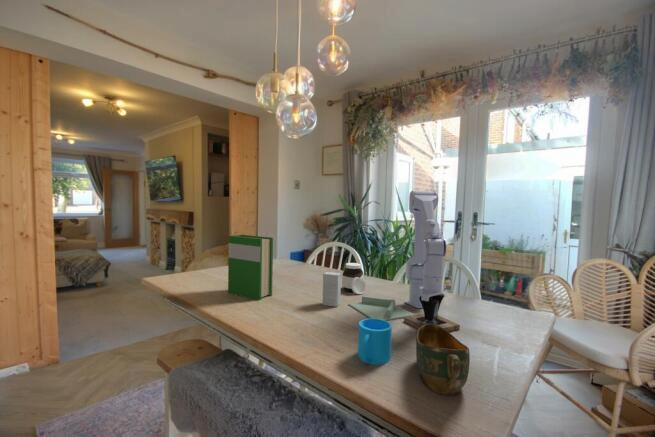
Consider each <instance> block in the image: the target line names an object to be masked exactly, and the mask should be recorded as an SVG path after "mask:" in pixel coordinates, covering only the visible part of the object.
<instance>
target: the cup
mask: <svg viewBox="0 0 655 437" xmlns="http://www.w3.org/2000/svg"><path fill="white" fill-rule="evenodd" d="M415 335H416V337H415V339H416V340H415V342H416V343H415V344H416V345H415V356H416V363H417V364H416V365H417V368H418V372H419V377H420V378H421V379H420V380H421V381H422V383H423V384H424V385H425V386H426V387H427V388H428V389H430V390H431V391H434V392H435V393H438V394H439V395H442V396H443V395H444V396H455V395H458V394H460V392H461V389H462V388H463V387H464V386H465V384H466V382H467V380H468V377H469V372H470V361H471V360H470V359H471V356H470V348H469V347H468V346H467V345H465V344H464V343H462V342H461V341H460V340H458V339H457V338H456V337H455V336H454V335H453V334H452V333H451V332H448V331H447V330H445V329H444V328H442V327H440V326H437V325H434V324H424V325H422V326H421V327H420V328H419V329H417V331H416V334H415Z"/></svg>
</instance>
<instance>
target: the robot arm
mask: <svg viewBox="0 0 655 437" xmlns="http://www.w3.org/2000/svg"><path fill="white" fill-rule="evenodd" d="M408 201H409V202H408V209H409V213H411V214H412V215H413V217H414V240H413V241H414V242H413V243H414V245H413V254H414V255H413V256H412V257H410V258H409V259H408V260H407V261H406V267H405V276H406V280H407V281H409V294H408V297H409V298H408V300H404V301H403V302H404V303H405V304H408V305H410V306H411V307H414V308H416V309H421V308H422V311H423V314H424V316H425V319H426V320H429V321H432V320H433V317H434V311H435V308H436V305H437V303H438V312H439V310H440V307H441V304H442V301H443V300H444V298H445V294H443V275H444V274H443V270H444V257H445V256H446V255H447V242H446V239H445V238H444V236H442V234H441V228H440V224H439V222H438V221H436V220H435V211H436V208H437V206H438V203H439V194H438V192H437V191H436V190H433V191H431V190H429V191H428V190H425V191H424V190H417V191H416V190H411V191H410V192H409V197H408ZM434 299H435V300H434ZM438 301H439V302H438Z"/></svg>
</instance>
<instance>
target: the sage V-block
mask: <svg viewBox="0 0 655 437" xmlns="http://www.w3.org/2000/svg"><path fill="white" fill-rule="evenodd" d="M348 306H349V307H352V308H353V309H354V310H356V311H358V312H360V313H361V314H363V315H364V316H366V317H367V318H368V319H371V318H373V319H381V320H385V321H387V322H389V321H393V320H394V321H395V320H399V319H404V317H406V316H412V315H416V314H415V313H413V312H411V311H409V310H407V309H405V308H403V307H401V306H398V305H397V304H396V300H395V299H393V298H385V297H378V296H368V295H367V296H366V295H362V296H361V301H355V302H348Z"/></svg>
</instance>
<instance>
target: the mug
mask: <svg viewBox="0 0 655 437" xmlns="http://www.w3.org/2000/svg"><path fill="white" fill-rule="evenodd" d="M392 328H393V326H392V324H391V323H390V322H389V321H385V320H381V319H373V318H365V319H362V320H361V319H360V320H359V322H358V340H357V341H358V346H357V356H358V358H359V360H360V361H362V362H363V363H366V364H370V365H378V366H379V365H385V364H388V363H389V362H390V361H391V360H392V359H391V358H392V333H393V332H392V331H393V329H392Z"/></svg>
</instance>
